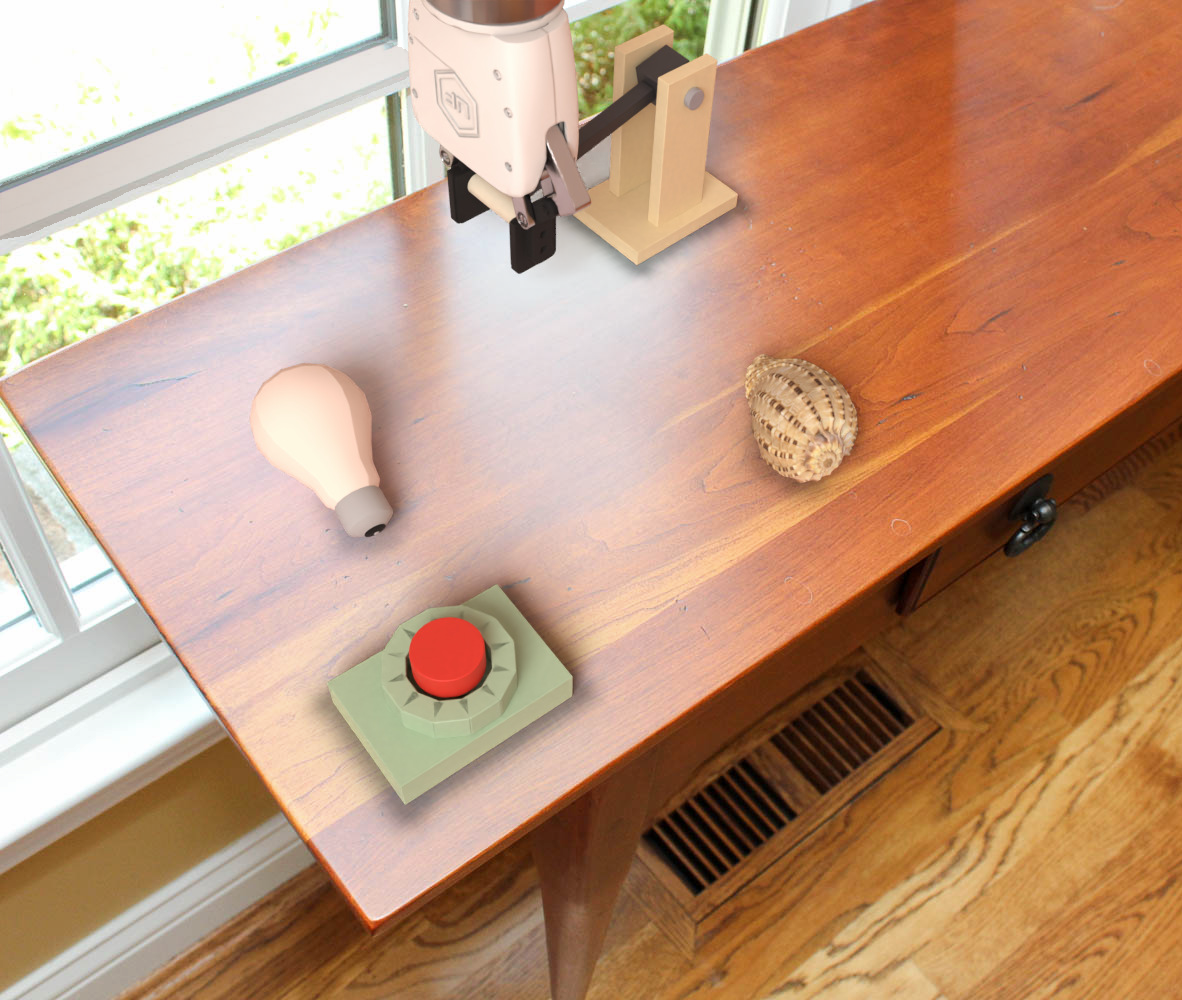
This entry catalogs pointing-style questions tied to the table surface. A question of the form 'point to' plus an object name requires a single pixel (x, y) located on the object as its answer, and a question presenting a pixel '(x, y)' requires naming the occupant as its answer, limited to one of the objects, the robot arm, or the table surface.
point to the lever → (595, 124)
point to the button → (447, 657)
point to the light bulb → (323, 441)
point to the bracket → (659, 158)
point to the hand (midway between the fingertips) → (503, 235)
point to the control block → (458, 724)
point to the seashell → (799, 417)
